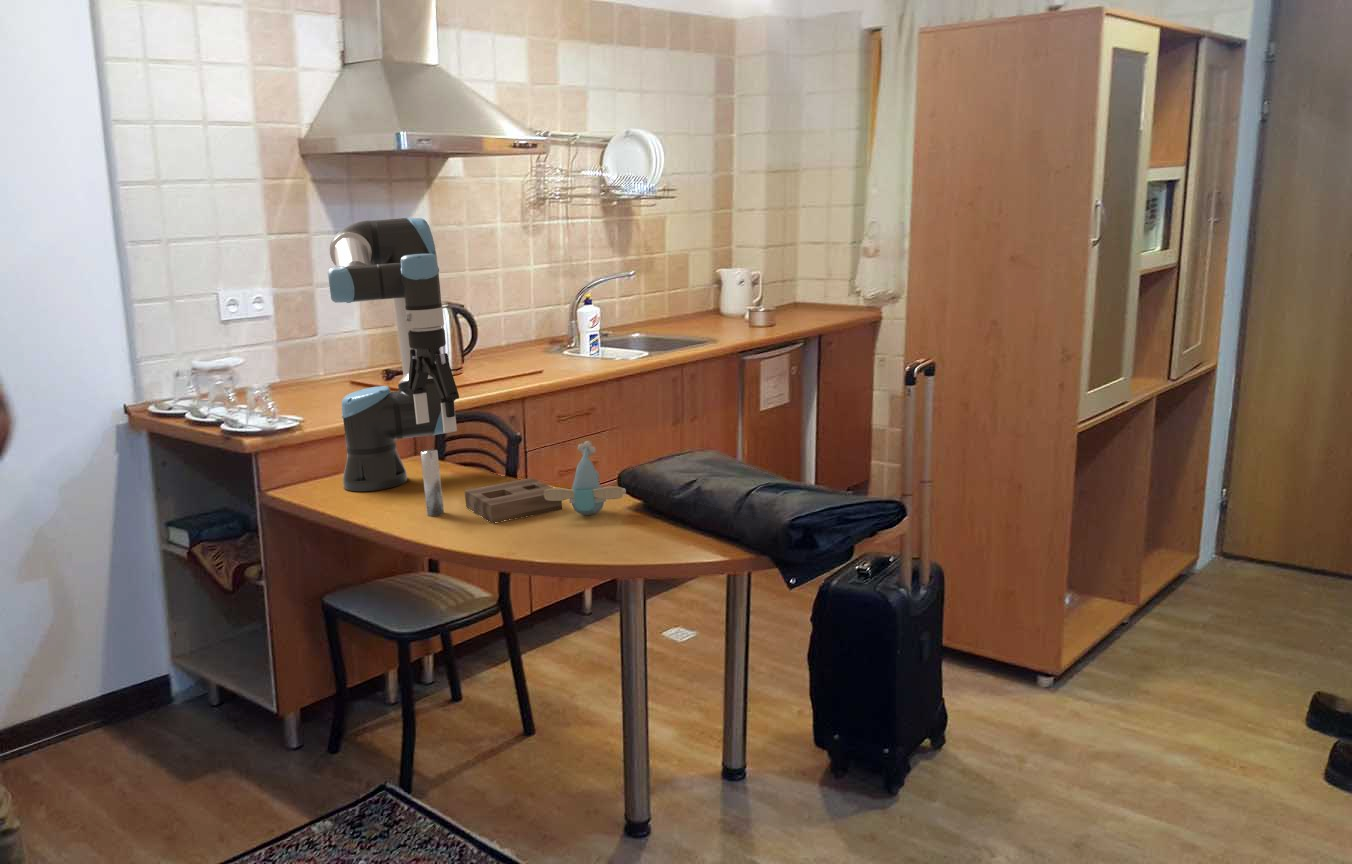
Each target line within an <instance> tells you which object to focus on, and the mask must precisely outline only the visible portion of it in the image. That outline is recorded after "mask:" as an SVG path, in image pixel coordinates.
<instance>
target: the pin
mask: <svg viewBox="0 0 1352 864" xmlns="http://www.w3.org/2000/svg"><path fill="white" fill-rule="evenodd" d="M420 462H421V471H422V479H423V480H422V481H423V489H424V497H425V499H424V500H425V506H426V507H425V508H426V514H427V516H428V517H439V516H442V515H443V514H445V510H444V509H445V508H444V500H443V491H442V483H441V482H442V481H441V471H440V465H439V464H440V462H439V453H438V449H425V450H421V451H420Z"/></svg>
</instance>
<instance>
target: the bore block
mask: <svg viewBox="0 0 1352 864" xmlns="http://www.w3.org/2000/svg"><path fill="white" fill-rule="evenodd" d="M551 488H553V486H550V485H549V484H547V483H544V482H542V481H539V480H538V479H536V478H534V477H529V478H523V479H517V480H512V481H507V482H501V483H497V484H491V485H486V486H481V487H475V488H469V489H465V490H464V498H465V508H466V507H467V508H468V509H467V508H466V509H467V510H469V509H470V510H469V511H471V510H472V511H474V512H475V513H477V514H478V515H477V514H476V515H477V516H479V515H480V516H482V517H483V518H482V517H481V518H482V519H484V518H485V519H486V521H487V520H488V521H487V522H489V521H490V522H491V523H490V522H489V523H490V524H492V523H494V524H496V523H495V522H499V523H502V522H501V521H504V520H509V519H514V520H516V519H515V518H519V519H522V518H521V517H524V518H527V517H526V516H528V517H532V516H531V515H533V516H537V515H542V514H546V513H547V514H548V513H553V512H558V511H562V510H563V500H562V501H548V500H546V499H545V498H544V491H545V490H546V489H551ZM472 511H471V512H472ZM474 512H473V513H474ZM475 513H474V514H475ZM480 516H479V517H480ZM485 519H484V520H485ZM509 521H510V520H509ZM504 522H505V521H504Z"/></svg>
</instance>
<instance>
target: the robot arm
mask: <svg viewBox="0 0 1352 864" xmlns="http://www.w3.org/2000/svg"><path fill="white" fill-rule="evenodd" d="M428 223H429V222H428V221H426V220H425V219H424V218H422V217H417V218H416V217H402V218H392V219H391V218H390V219H375V220H370V219H369V220H362V221H361V220H360V221H358V222H354V223H352V224H350V225H347V226H346V227H344V228H343V229H341V230H340V231H339V232H337V233H336V234H335V235H334V237H333V238H332V240H331V242H330V244H329V245H330V246H329V255H330V259H331V261H332V263H333V265H334V266H335V267H331V268H329V269H328V271H327V275H328V286H329V294H330V299H331V301H332V302H333V303H337V304H339V303H346V304H350V303H357V302H368V301H379V300H391V299H393V301H394V310H395V312H394V313H395V318H396V319H395V320H396V327H397V335H398V345H399V350H400V351H399V352H400V358H401V359H400V360H401V366H402V378H401V379H400V380H399V382H398V383H397V386H398V390H397V391H396V390H395V391H391V389H390V387H389V386H387V385H380V386H372V387H367V388H363V389H358V390H356V391H353V392H351V393H348V394H346V395H345V396H344V397H343V398H342V400H341V412H342V413H341V418H342V420H343V421H342V422H343V428H344V429H343V431H344V438H345V446H346V462H345V467H344V471H343V476H342V485H343V489H344V490H346V491H352V492H371V491H374V492H375V491H380V490H385V489H386V490H387V489H391V488H395V487H399V486H401V485H404V484H405V483H406V482H407V481H408V475H407V473H408V472H407V469H406V468H405V465H404V463H403V461H402V459H401V457H400V455H399V453H398V450H397V443H396V440H399V439H401V440H402V439H408V438H409V439H411V438H416V437H418V438H419V437H427V436H433V437H434V436H436V435H440V434H441V435H443V434H448V433H453V432H457V431H458V429H457V428H458V427H457V418H456V407H455V401H456V400H458V399H460V395H459V391H458V388H457V384H456V381H455V378H454V375H453V371H452V368H451V365H450V360H449V354H448V352H447V353H446V352H444V353H441V351H440V348H442V347H444V346H446V345H447V344H446V343H447V342H446V333H445V332H446V331H445V329H444V328H443V326H444V325H445V318H444V310H443V305H442V297H441V283H440V267H439V265H438V258H437V252H436V245H435V241H434V237H433V234H432V231H431V230H432V229H431V227H430V226H429V224H428Z"/></svg>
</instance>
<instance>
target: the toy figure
mask: <svg viewBox="0 0 1352 864" xmlns="http://www.w3.org/2000/svg"><path fill="white" fill-rule="evenodd" d="M596 449H597V448H596V447H595V446H594V445H592V442H591V441H589V440H586V441H584V443H580V444H579V443H578V445H577V450H578V451H579V452H581V455H582V457H581V459H580V461H579V462H578V463H577V466H576V468H575V474H574V475H575V476H574V478H573V483H572V486H571V489H568V488H563V487H552V488H551V489H546V490H545V491H544V498H545V499H546V500H548V501H562V502H563V501H566V500H569V504H571V506H572V508H573V510H574V511H575V512H576V513H578V514H580V515H584V516H588V515H595V514H597V513H598V512H599V511H601V510H602V509H603V507H604V504H605V502H607V500H609V501H610V500H618V499H619V500H620V499H622V498H623V497H624V495H625V494H626V493H627V490H626V488H624V487H621V486H616V485H615V486H611V485H608V486H604V487H602V486H601V484H600V482H599V479H600V473H599V472H598V471H597V470H596V468H595V466H594V463H593V462H592V461H591V459H590V458H589V457H590V456H592V454H595V453H596V451H597V450H596Z"/></svg>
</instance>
